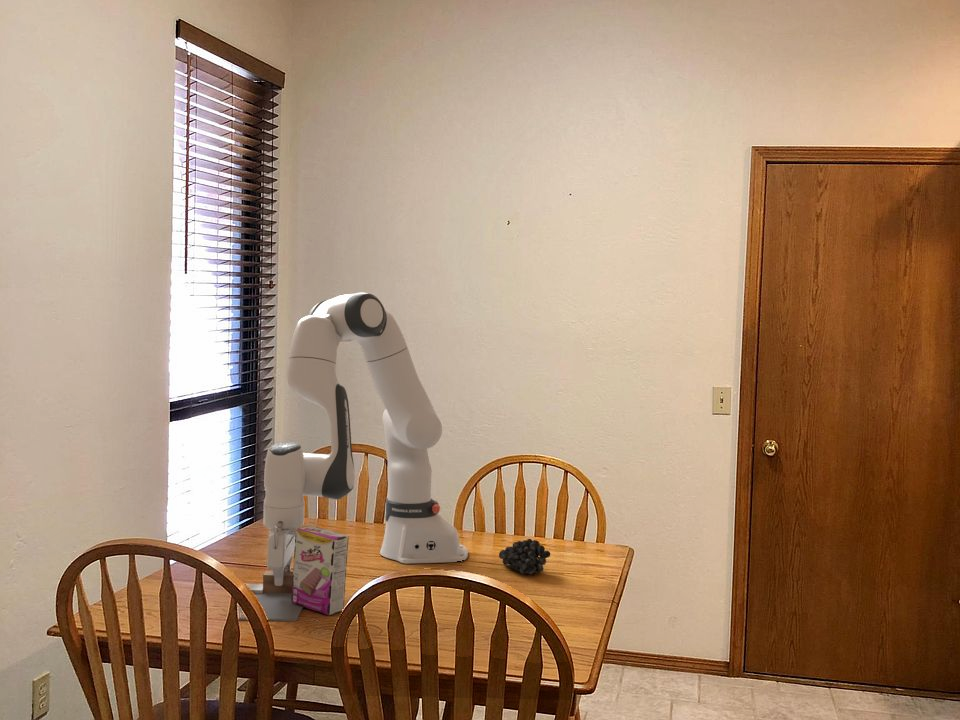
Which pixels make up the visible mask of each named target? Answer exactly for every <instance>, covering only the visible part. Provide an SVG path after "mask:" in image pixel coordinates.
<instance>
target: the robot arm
mask: <svg viewBox="0 0 960 720" xmlns="http://www.w3.org/2000/svg"><path fill="white" fill-rule="evenodd" d="M353 340H355V341H356V342H357V343H358V344H359V345H360V347H361V351H362V354H363V357H364V360H365V363H366V367H367V369H368V372H369V374H370V378H371V380H372V383H373V386H374V388H375V391H376V393H377V395H378V396H379V397H380V399H381V402H382V404H383V406H384V408H385V409H384V411H383V414H382V416H381V417H382V421H381V422H382V427H383V430H384V442H385V443H384V444H385V445H384V446H385V451H386V458H387V472H388V473H387V498H386V500H385V506H384V507H385V508H384V518H385V521H386V522H385V530H384V536H383V541H382V544H381V547H380V548H381V549H380V551H379V554H380V555H381V556H383V557H384V558H386V559H390V560H394V561H397V562H398V563H400V564H401V563H402V564H433V563H437V564H438V563H458V562H457V561H461V562H463V561H462V560H464V561H465V560H467V558H468V557H469V556H468V555H469V552H468V551H469V550H468V548H467V547H466V546H464V544H463V545H462V544H461V542H460V537H459V533H458V530H457V528H456V527H455V526H454V525H452V523H450V522H449V521H447V520H446V519H445V518H444V517H442V516H441V515H440V514H439V512H440V511H441V507H440V505H439V501H437V500H434V499H433V498H432V475H433V474H432V472H433V471H432V464H431V462H430V459H429V453H428V450H429V449H430V448H433V447H434V446H435V445H436V444H438V442H439V441H440V439H441V436H442V434H443V433H442V432H443V426H442V422H441V420H440V418H439V416H438V415H437V412H435V409H434V407H433V405H432V402H431V400H430V398H429V396H428V394H427V392H426V390H425V387H424V386H423V384H422V382H421V381H420V378H419V376H418V373H417V372H416V368H415V364H414V362H413V360H412V357H411V354H410V351H409V348H408V345H407V343H406V340H405V337H404V335H403V333H402V331H401V328H400V327H399V325H398V322H397V321H396V319H395V317H394V316H393V314H392V313H390V312H389V311H387V310H386V309H385V307H384V305H383V303H382V302H381V300H380V298H378V297H377V296H375V295H374V294H372V293H368V292H356V293H349V294H348V293H347V294H343V295H342V294H341V295H338V296H336V297H333V298H331V299H327V300H326V299H325V300H322V301H320V302H318V303H317V304H316V305H314V306H313V307H312V308H311V309H310V310H309V312H308V315H306V316H304V317H302V318H301V319H299V320H298V322H297V323H296V326H295V327H294V332H293V335H292V339H291V342H290V347H289V352H288V360H287V369H286V379H287V383H288V385H289V387H290V389H291V390H292V391H293V392H294V393H295V395H297V396H299V397H300V398H302V399H303V400H305V401H307V402H309V403H312V404H314V405H316V406H318V407H320V408H322V410H324V411H325V412H326V414H327V415H328V418H329V427H330V428H329V431H330V444H331V445H330V447H331V450H330V453H328V454H327V453H326V454H325V453H324V454H323V453H311V452H310V453H309V452H304V451H303V447H302V445H301V444H300V443H297V442H295V441H282V442H276V443H274V444H272V445H271V446H269V447H268V449H267V451H266V455H265V462H264V463H265V464H264V472H263V473H264V475H263V486H264V489H265V496H264V497H265V498H264V499H263V520H262V521H263V522H262V523H263V526H264V527H265V528H267V529H269V530H268V533H269V534H268V540H267V554H266V555H267V556H266V566H267V567H266V568H267V570H268V571H273V574H274V584H275V585H276V586H282V585H283V583H284V576H283V571H286V572H292V571H291V570H292V561H293V558H294V550H295V535H296V529H297V528H300V527H301V528H302V527H304V525H305V498H304V496H309V497H323V498H325V499H332V500H336V501H337V500H341V499H342V498H344V497H346V496H348V494H349V493H351V492H352V490H353V489H354V487H355V483H356V481H355V480H356V473H355V472H356V470H355V464H354V457H353V451H352V450H353V449H352V431H351V417H350V407H349V406H350V405H349V399H348V393H347V391H346V387H344V386H343V385H341V384H340V383H339V380H338V377H337V371H336V366H337V353H338V352H337V350H338V348H339V346H340V343H342V342H343V343H344V342H351V341H353Z"/></svg>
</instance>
